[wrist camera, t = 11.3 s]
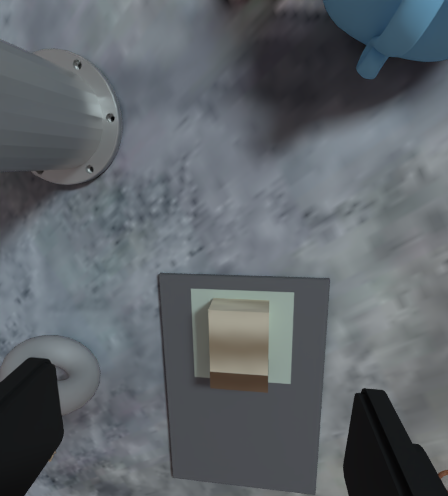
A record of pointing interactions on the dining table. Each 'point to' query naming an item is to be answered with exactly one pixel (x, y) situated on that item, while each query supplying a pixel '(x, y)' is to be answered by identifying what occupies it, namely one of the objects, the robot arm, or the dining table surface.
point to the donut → (63, 356)
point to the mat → (246, 402)
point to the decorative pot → (393, 30)
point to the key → (443, 474)
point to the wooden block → (239, 344)
